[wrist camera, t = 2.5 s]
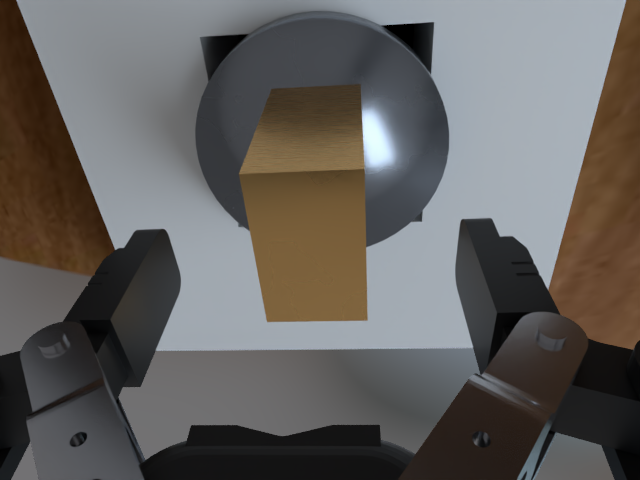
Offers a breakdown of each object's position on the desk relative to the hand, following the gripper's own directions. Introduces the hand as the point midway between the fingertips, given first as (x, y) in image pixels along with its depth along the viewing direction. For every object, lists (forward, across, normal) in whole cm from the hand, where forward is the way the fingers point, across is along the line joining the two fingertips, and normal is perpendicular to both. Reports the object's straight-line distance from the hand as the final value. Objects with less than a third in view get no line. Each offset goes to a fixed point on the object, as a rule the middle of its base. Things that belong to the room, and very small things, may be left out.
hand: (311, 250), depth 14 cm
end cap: (+12, 0, 0) cm, 12 cm away
